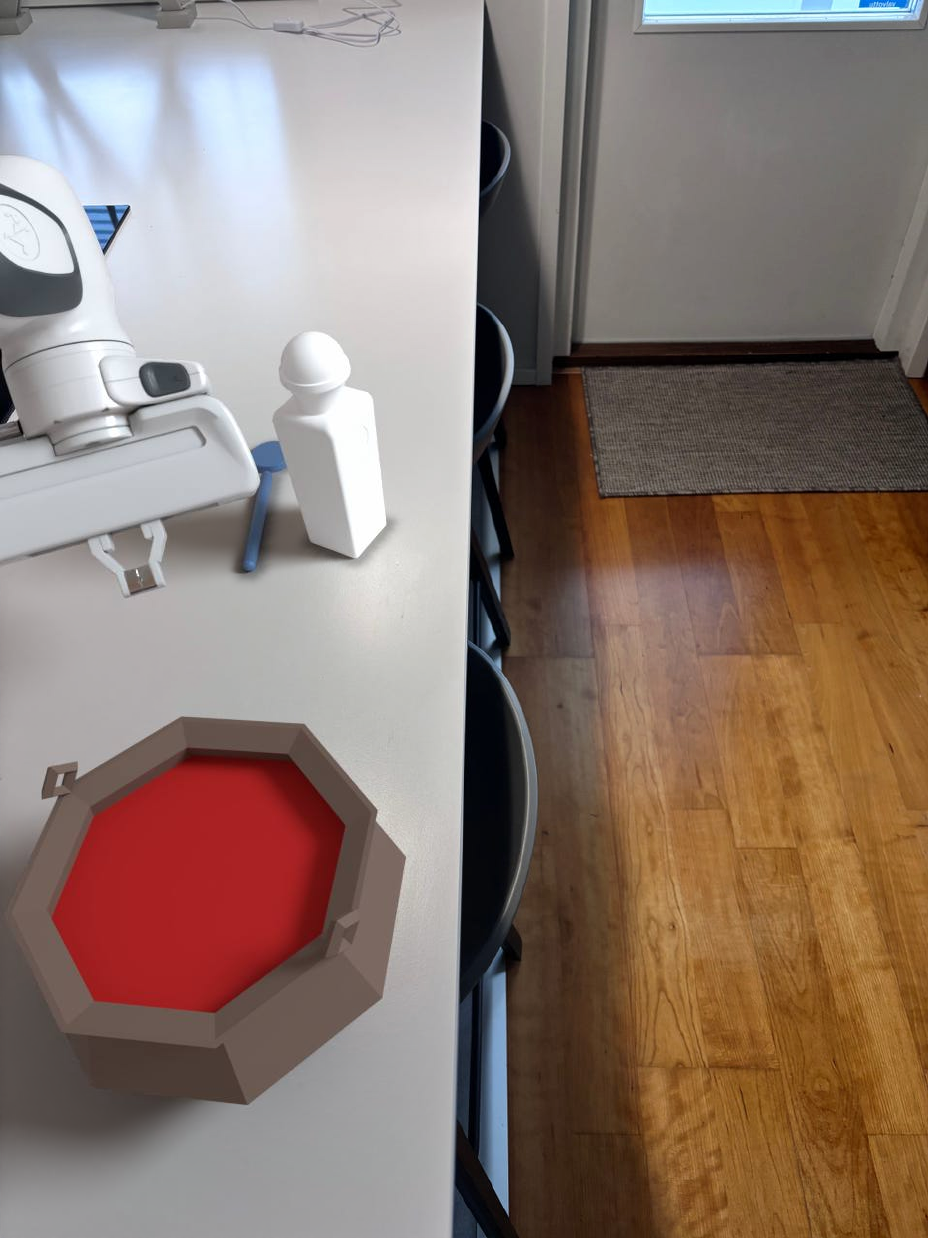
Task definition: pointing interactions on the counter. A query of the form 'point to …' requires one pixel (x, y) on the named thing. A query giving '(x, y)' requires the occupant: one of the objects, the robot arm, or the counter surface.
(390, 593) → the counter surface
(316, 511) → the white square bottle
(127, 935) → the octagonal pot
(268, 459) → the spoon
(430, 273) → the counter surface
